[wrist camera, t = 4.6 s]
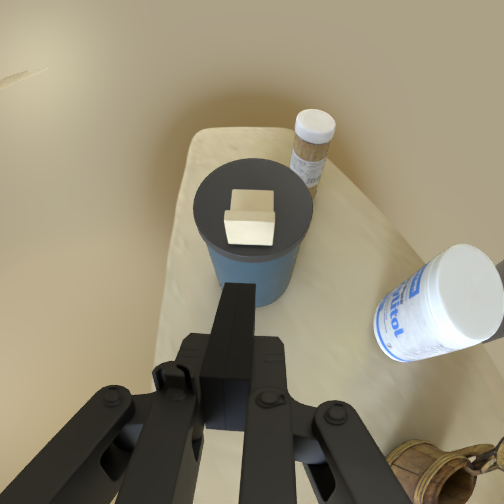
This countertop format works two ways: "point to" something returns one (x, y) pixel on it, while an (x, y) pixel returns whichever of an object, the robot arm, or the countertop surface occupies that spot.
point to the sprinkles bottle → (311, 146)
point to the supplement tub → (441, 306)
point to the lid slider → (250, 217)
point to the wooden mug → (442, 470)
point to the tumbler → (285, 231)
